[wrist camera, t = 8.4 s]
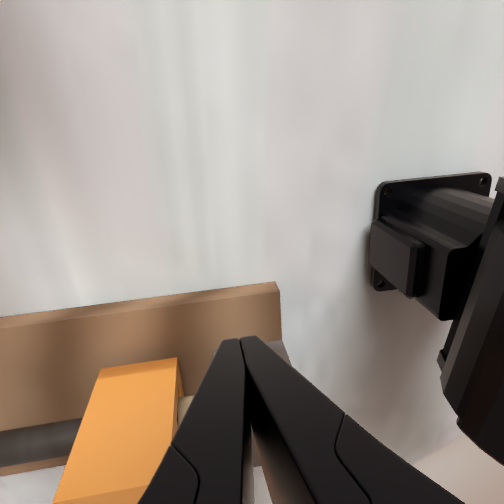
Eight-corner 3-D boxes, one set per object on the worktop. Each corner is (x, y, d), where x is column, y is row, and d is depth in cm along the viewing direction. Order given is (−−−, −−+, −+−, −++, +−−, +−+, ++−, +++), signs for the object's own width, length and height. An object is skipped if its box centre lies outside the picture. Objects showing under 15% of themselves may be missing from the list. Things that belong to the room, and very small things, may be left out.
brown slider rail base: (275, 281, 21) (304, 344, 15) (281, 411, 24) (306, 499, 19) (-192, 342, 18) (-362, 445, 12) (-103, 477, 22) (-204, 602, 16)
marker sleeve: (177, 357, 19) (168, 481, 13) (188, 417, 21) (185, 553, 15) (100, 368, 19) (52, 502, 12) (118, 429, 21) (83, 575, 14)
